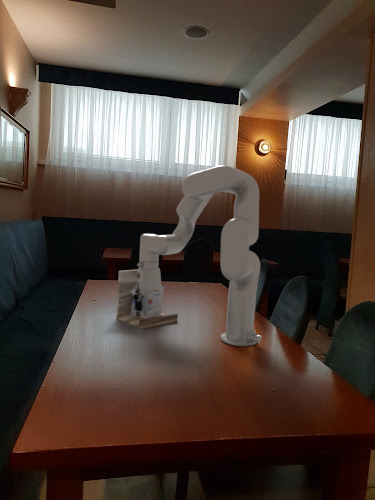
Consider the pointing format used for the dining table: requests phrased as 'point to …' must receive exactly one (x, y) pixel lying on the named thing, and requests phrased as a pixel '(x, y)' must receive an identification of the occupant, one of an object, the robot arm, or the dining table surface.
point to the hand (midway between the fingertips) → (146, 308)
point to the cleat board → (125, 303)
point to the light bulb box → (149, 305)
